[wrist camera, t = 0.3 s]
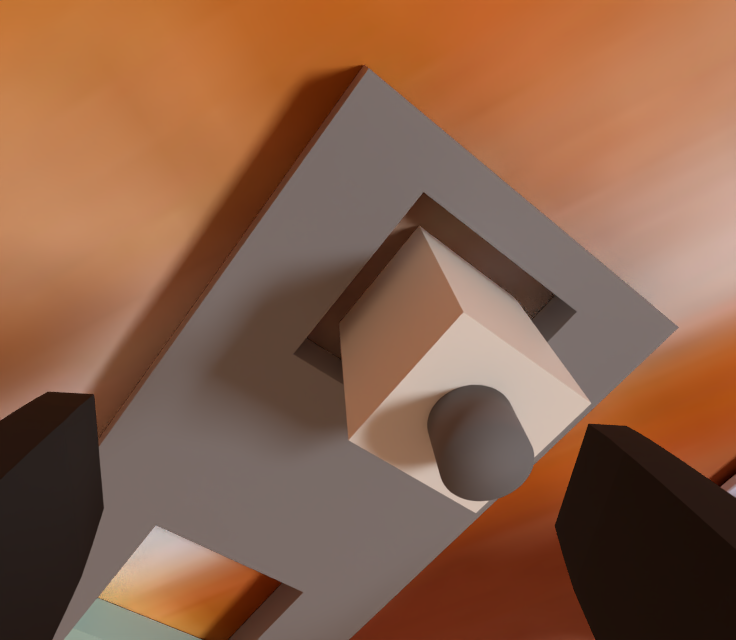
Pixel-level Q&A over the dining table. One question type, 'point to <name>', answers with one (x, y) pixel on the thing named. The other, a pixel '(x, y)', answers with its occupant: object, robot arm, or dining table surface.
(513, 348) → the plug
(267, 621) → the grey board with holes
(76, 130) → the dining table surface
